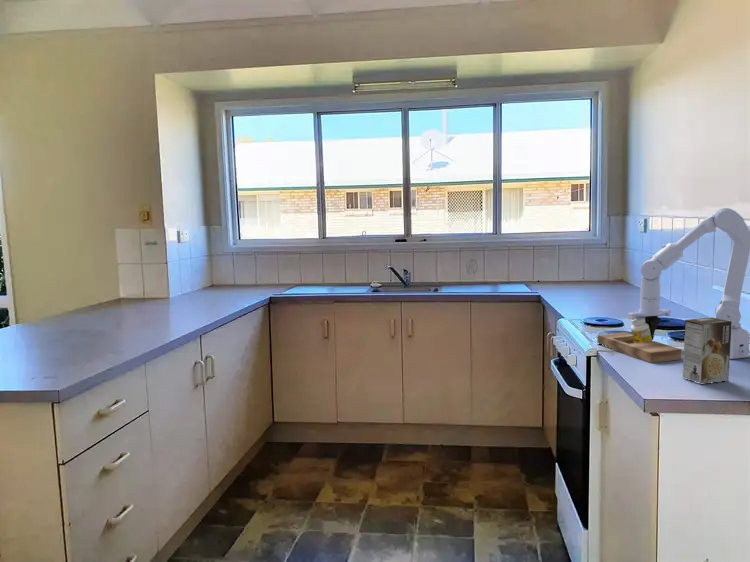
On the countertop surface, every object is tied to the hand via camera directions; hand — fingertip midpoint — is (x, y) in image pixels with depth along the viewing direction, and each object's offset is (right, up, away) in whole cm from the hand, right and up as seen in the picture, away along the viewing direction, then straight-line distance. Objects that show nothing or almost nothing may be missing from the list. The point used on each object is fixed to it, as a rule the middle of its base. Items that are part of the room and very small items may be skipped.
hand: (648, 339), depth 190 cm
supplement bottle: (-2, -2, 0) cm, 3 cm away
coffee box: (-1, -8, -34) cm, 35 cm away
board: (-6, -3, -5) cm, 8 cm away
